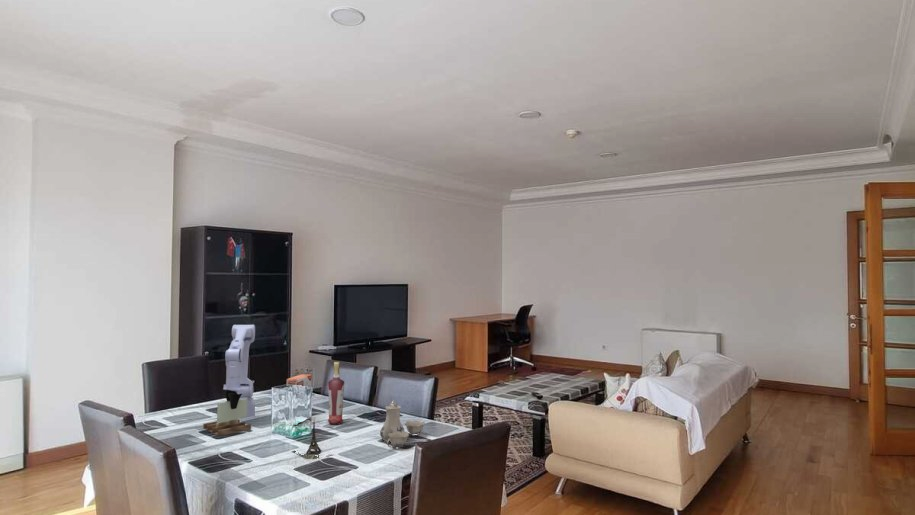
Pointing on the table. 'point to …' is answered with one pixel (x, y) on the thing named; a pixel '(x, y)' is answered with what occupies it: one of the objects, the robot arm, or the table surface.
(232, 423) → the offcut
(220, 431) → the rack
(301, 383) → the cracker box
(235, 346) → the robot arm
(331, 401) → the liquor
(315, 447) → the eiffel tower figurine
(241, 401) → the pale green slab
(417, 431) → the chinaware
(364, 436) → the table surface
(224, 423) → the offcut
